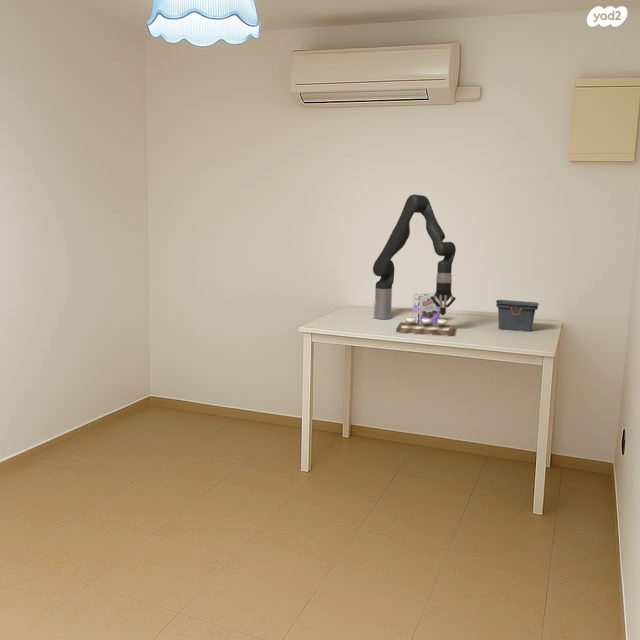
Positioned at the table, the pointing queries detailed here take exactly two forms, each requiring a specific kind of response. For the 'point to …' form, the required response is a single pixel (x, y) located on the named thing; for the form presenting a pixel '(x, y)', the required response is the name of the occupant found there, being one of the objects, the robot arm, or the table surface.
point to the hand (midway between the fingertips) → (442, 314)
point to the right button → (442, 321)
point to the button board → (425, 328)
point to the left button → (410, 320)
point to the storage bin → (516, 314)
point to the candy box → (425, 307)
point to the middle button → (426, 320)
